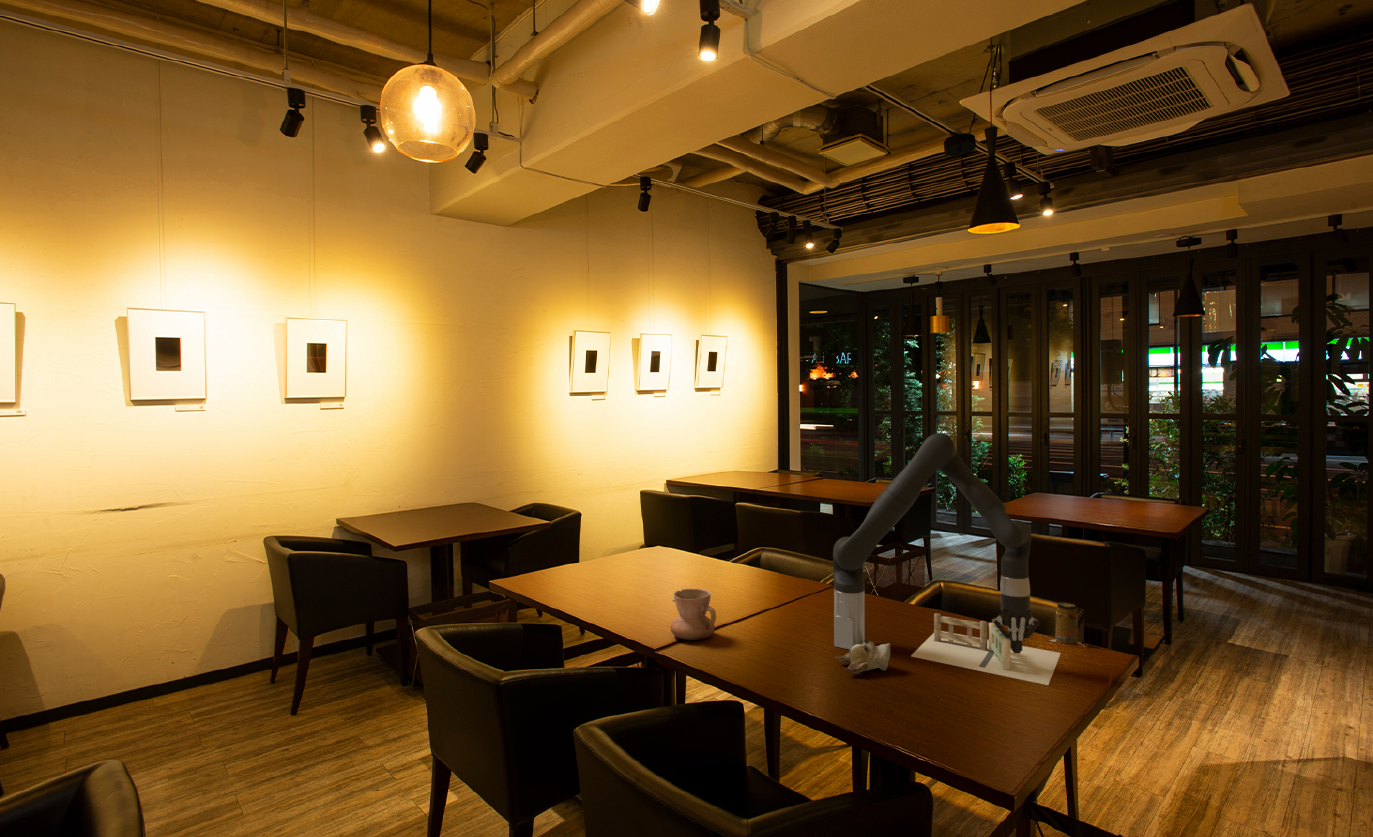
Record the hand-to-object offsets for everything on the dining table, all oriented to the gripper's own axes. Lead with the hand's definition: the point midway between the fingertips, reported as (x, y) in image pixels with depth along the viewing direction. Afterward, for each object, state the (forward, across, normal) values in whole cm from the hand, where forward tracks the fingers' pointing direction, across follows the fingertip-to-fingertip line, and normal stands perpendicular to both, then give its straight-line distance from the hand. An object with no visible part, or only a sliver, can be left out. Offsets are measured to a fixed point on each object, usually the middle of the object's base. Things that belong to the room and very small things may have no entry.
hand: (1016, 652), depth 188 cm
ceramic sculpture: (+4, +43, +6) cm, 44 cm away
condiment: (+5, -23, -21) cm, 32 cm away
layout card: (+4, +6, -8) cm, 11 cm away
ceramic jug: (+2, +94, -16) cm, 95 cm away
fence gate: (+3, +3, -4) cm, 6 cm away
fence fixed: (+3, +11, -15) cm, 19 cm away
